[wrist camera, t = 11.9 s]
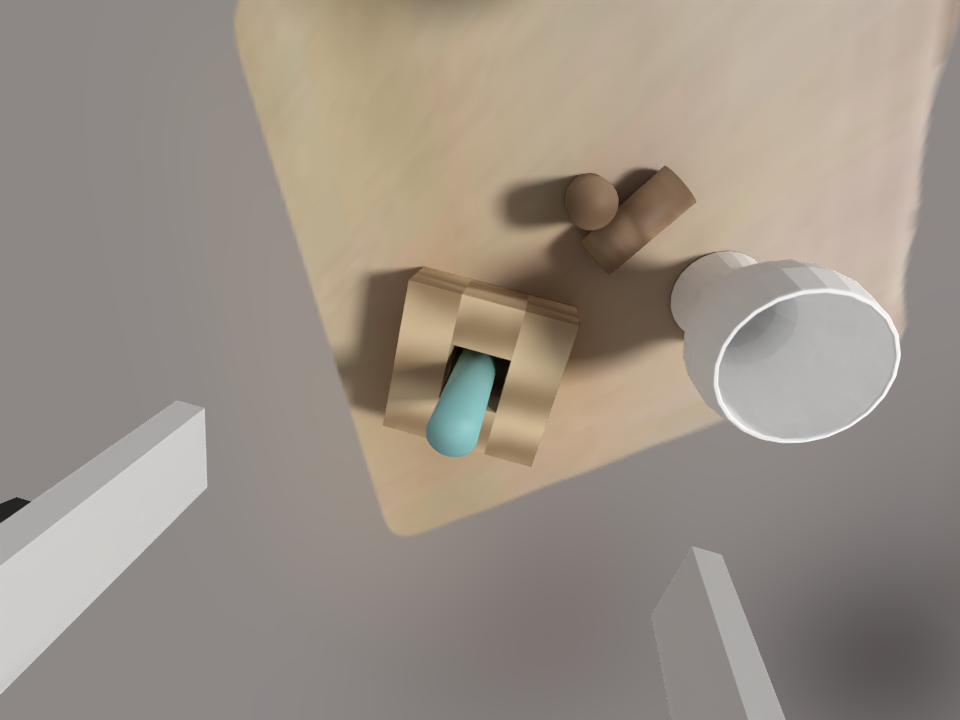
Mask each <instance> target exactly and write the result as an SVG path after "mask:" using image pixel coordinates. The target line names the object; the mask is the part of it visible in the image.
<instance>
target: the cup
mask: <svg viewBox="0 0 960 720" xmlns="http://www.w3.org/2000/svg"><path fill="white" fill-rule="evenodd" d="M671 310H672V314H673V318H674V319H675V321H676V322H677V324H678V326H679V327H680V328H681V329H682V330H683V331H685V334H684V353H683V358H684V361H685V365H686V369H687V372H688V375H689V377H690V379H691V380H692V382H693V384H694V385H695V387H696V389H697V390H698V392H699V393H700V395H701V396H702V398H703V400H704V401H705V403H706V404H707V405H708V406H709V407H710V408H712V409H713V410H714V411H715V412H716V413H718V414H719V415H720V416H721V417H723V418H724V419H725V420H727V421H728V422H730V423H731V424H733V425H734V426H736V427H737V428H738V429H740V430H741V431H743V432H746V433H748V434H750V435H753V436H754V437H757V438H759V439H763V440H768V441H774V442H779V443H798V442H808V441H813V440H817V439H821V438H826V437H829V436H831V435H834V434H836V433H838V432H840V431H842V430H845V429H847V428H849V427H851V426H852V425H854V424H855V423H857V422H858V421H859V420H861V419H862V418H864V417H865V416H866V415H868V414H869V413H870V412H871V411H872V410H873V409H874V408H875V407H876V406H877V405H878V404H879V402H880V401H881V400H882V399H883V398H884V397H885V396H886V394H887V392H888V390H889V389H890V387H891V385H892V383H893V381H894V379H895V378H896V375H897V370H898V366H899V361H900V357H901V353H900V344H899V334H898V332H897V330H896V328H895V326H894V324H893V322H892V320H891V318H890V316H889V315H888V314H887V313H886V312H885V311H884V309H883V308H882V307H881V306H880V305H879V304H878V303H877V302H876V300H875V299H874V298H873V297H872V296H871V295H870V294H869V293H868V292H867V291H866V290H865V289H864V288H862V287H861V286H860V285H859V284H858V283H857V282H856V281H855V280H852V279H850V278H848V277H846V276H844V275H842V274H840V273H838V272H835V271H833V270H831V269H828V268H826V267H823V266H821V265H819V264H816V263H811V262H804V261H798V260H780V261H769V262H762V263H757V262H756V261H755V260H754V259H753V258H751V257H749V256H747V255H744V254H742V253H737V252H731V251H726V252H715V253H712V254H709V255H707V256H704V257H701V258H700V259H698V260H697V261H695V262H693V263H692V264H690V265H689V266H688V267H687V268H686V269H685V270H684V271H683V272H682V273H681V275H680V276H679V278H678V280H677V281H676V283H675V285H674V288H673V291H672V294H671Z"/></svg>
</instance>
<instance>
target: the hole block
mask: <svg viewBox="0 0 960 720" xmlns="http://www.w3.org/2000/svg"><path fill="white" fill-rule="evenodd" d="M579 327H580V325H579V318H578V312H577V307H573V306H569V305H565V304H562V303H558V302H554V301H551V300H547V299H543V298H539V297H536V296H532V295H528V294H525V293H521V292H517V291H513V290H510V289H506V288H502V287H498V286H495V285H491V284H487V283H484V282H480V281H476V280H472V279H469V278H465V277H461V276H458V275H454V274H450V273H446V272H443V271H439V270H435V269H432V268H428V267H423V268H422V269H421V270H419V271H418V272H417V273H416V274H415V275H414V276H413V277H412V278H410V279H409V282H408V287H407V293H406V298H405V304H404V310H403V315H402V321H401V327H400V332H399V338H398V344H397V349H396V355H395V361H394V366H393V372H392V378H391V383H390V389H389V395H388V400H387V406H386V412H385V417H384V423H383V426H387V427H390V428H394V429H397V430H401V431H405V432H408V433H412V434H415V435H419V436H422V437H426V427H427V424H428V422H429V420H430V417H431V415H432V413H433V411H434V409H435V407H436V405H437V403H438V401H439V398H440V396H441V394H442V392H443V390H444V388H445V386H446V384H447V382H448V380H449V377H450V375H451V374H450V370H451V366H452V361H453V357H454V353H455V348H456V346H459V347H463V348H467V349H470V350H474V351H478V352H481V353H485V354H489V355H492V356H496V357H500V358H503V359H507V360H509V364H508V367H507V371H506V374H505V377H504V381H503V384H502V388H500V387H497V386H493V385H492V389H491V393H490V396H489V400H488V404H487V407H486V411H485V415H484V419H483V422H482V426H481V430H480V433H479V437H478V441H477V444H476V446H475V447H474V449H473V450H472V451H476V452H480V453H483V454H487V455H490V456H494V457H497V458H501V459H505V460H508V461H512V462H515V463H519V464H522V465H526V466H530V467H531V466H532V463H533V460H534V457H535V454H536V452H537V449H538V446H539V443H540V440H541V437H542V434H543V431H544V428H545V425H546V423H547V420H548V417H549V414H550V411H551V408H552V405H553V402H554V399H555V396H556V394H557V391H558V388H559V385H560V382H561V379H562V376H563V373H564V370H565V367H566V365H567V362H568V359H569V356H570V353H571V350H572V347H573V344H574V341H575V338H576V336H577V333H578V330H579ZM426 438H427V437H426Z"/></svg>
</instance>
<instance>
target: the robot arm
mask: <svg viewBox="0 0 960 720" xmlns="http://www.w3.org/2000/svg"><path fill="white" fill-rule="evenodd" d="M206 488H207V467H206V438H205V410H204V408H202V407H199V406H195V405H191V404H188V403H184V402H181V401H178V400H177V401H175V402H174V403H173V404H171V405H170V406H168V407H167V408H165V409H164V410H163V411H161V412H160V413H158V414H157V415H155V416H154V417H152V418H151V419H150V420H148V421H147V422H145V423H144V424H142V425H141V426H140V427H138V428H137V429H135V430H134V431H132V432H131V433H130V434H128V435H127V436H125V437H124V438H123V439H121V440H119V441H118V442H117V443H115V444H114V445H112V446H111V447H109V448H108V449H106V450H105V451H104V452H102V453H101V454H99V455H98V456H97V457H95V458H94V459H92V460H91V461H89V462H88V463H86V464H85V465H84V466H82V467H81V468H79V469H78V470H76V471H75V472H74V473H72V474H71V475H69V476H68V477H66V478H65V479H63V480H62V481H61V482H59V483H58V484H56V485H55V486H53V487H52V488H50V489H49V490H48V491H46V492H45V493H43V494H42V495H41V496H39V497H38V498H36V499H35V500H33V501H32V502H31V501H27V500H24V499H20V498H17V497H16V498H14V499H11V500H9V501H7V502H4V503H1V504H0V694H1V693H2V692H3V691H4V690H5V689H6V688H7V687H8V686H9V685H10V684H11V683H12V682H13V681H14V680H15V679H16V678H17V677H18V676H19V675H20V674H21V673H22V672H23V671H24V670H25V669H26V668H27V667H28V666H29V665H30V664H31V663H32V662H33V661H34V660H35V659H36V658H37V657H38V656H39V655H40V654H41V653H42V652H43V651H44V650H45V649H46V648H47V647H48V646H49V645H50V644H51V643H52V642H53V641H54V640H55V639H56V638H57V637H58V636H59V635H60V634H61V633H62V632H63V631H64V630H65V629H66V628H67V627H68V626H69V625H70V624H71V623H72V622H73V621H74V620H75V619H76V618H77V617H78V616H79V615H80V614H81V613H82V612H83V611H84V610H85V609H86V608H87V607H88V606H89V605H90V604H91V603H92V602H93V601H94V600H95V599H96V598H97V597H98V596H99V595H100V594H101V593H102V592H103V591H104V590H105V589H106V588H107V587H108V586H109V585H110V584H111V583H112V582H113V581H114V580H115V579H116V578H117V577H118V576H119V575H120V574H121V573H122V572H123V571H124V570H125V569H126V568H127V567H128V566H129V565H130V564H131V563H132V562H133V561H134V560H135V559H136V558H137V557H138V556H139V555H140V554H141V553H142V552H143V551H144V550H145V549H146V548H147V547H148V546H149V545H150V544H151V543H152V542H153V541H154V540H155V539H156V538H157V537H158V536H159V535H160V534H161V533H162V532H163V531H164V530H165V529H166V528H167V527H168V526H169V525H170V524H171V523H172V522H173V521H174V520H175V519H176V518H177V517H178V516H179V515H180V514H181V513H182V512H183V511H184V510H185V509H186V507H188V506H189V505H190V504H191V503H192V502H193V500H195V499H196V498H197V497H198V496H199V495H200V494H201V493H202V492H203V490H205V489H206ZM651 618H652V624H653V629H654V634H655V639H656V645H657V650H658V655H659V660H660V665H661V670H662V676H663V681H664V686H665V691H666V697H667V702H668V707H669V712H670V718H671V720H785V717H784V715H783V712H782V710H781V707H780V704H779V702H778V699H777V697H776V694H775V691H774V689H773V686H772V684H771V681H770V679H769V676H768V673H767V671H766V668H765V666H764V663H763V661H762V658H761V655H760V653H759V650H758V648H757V645H756V643H755V640H754V637H753V635H752V632H751V629H750V627H749V624H748V622H747V619H746V617H745V614H744V611H743V609H742V606H741V604H740V601H739V598H738V596H737V593H736V591H735V588H734V586H733V583H732V580H731V578H730V575H729V573H728V570H727V568H726V565H725V562H724V560H723V557H722V555H721V554H717V553H713V552H710V551H707V550H703V549H700V548H696V547H693V546H692V547H691V549H690V551H689V552H688V554H687V556H686V557H685V559H684V561H683V562H682V564H681V566H680V567H679V569H678V571H677V572H676V574H675V576H674V577H673V579H672V581H671V582H670V584H669V586H668V588H667V589H666V591H665V593H664V594H663V596H662V597H661V599H660V601H659V603H658V604H657V606H656V608H655V609H654V611H653V613H652V614H651Z"/></svg>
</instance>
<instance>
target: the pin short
mask: <svg viewBox="0 0 960 720" xmlns="http://www.w3.org/2000/svg"><path fill="white" fill-rule="evenodd" d="M565 205H566V209H567V212H568V215H569V218H570V219H571V221H572V222H573V223H574V224H575V225H576V226H578V227H579V228H581V229H584V230H597V229H600V228H602V227H604V226H606V225H607V224H608V223H609V222H610V221H611V220H612V219H613V218H614V216H615V214H616V212H617V209H618V195H617V192H616V190H615V188H614V187H613V185H612V184H611V183H610V182H608V181H607V180H605V179H604V178H602V177H601V176H599V175H596V174H592V173H587V174H582V175H579V176H578V177H576V178H575V179H573V180H572V181H571V183H570V184H569V185H568V187H567V189H566V192H565Z"/></svg>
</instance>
